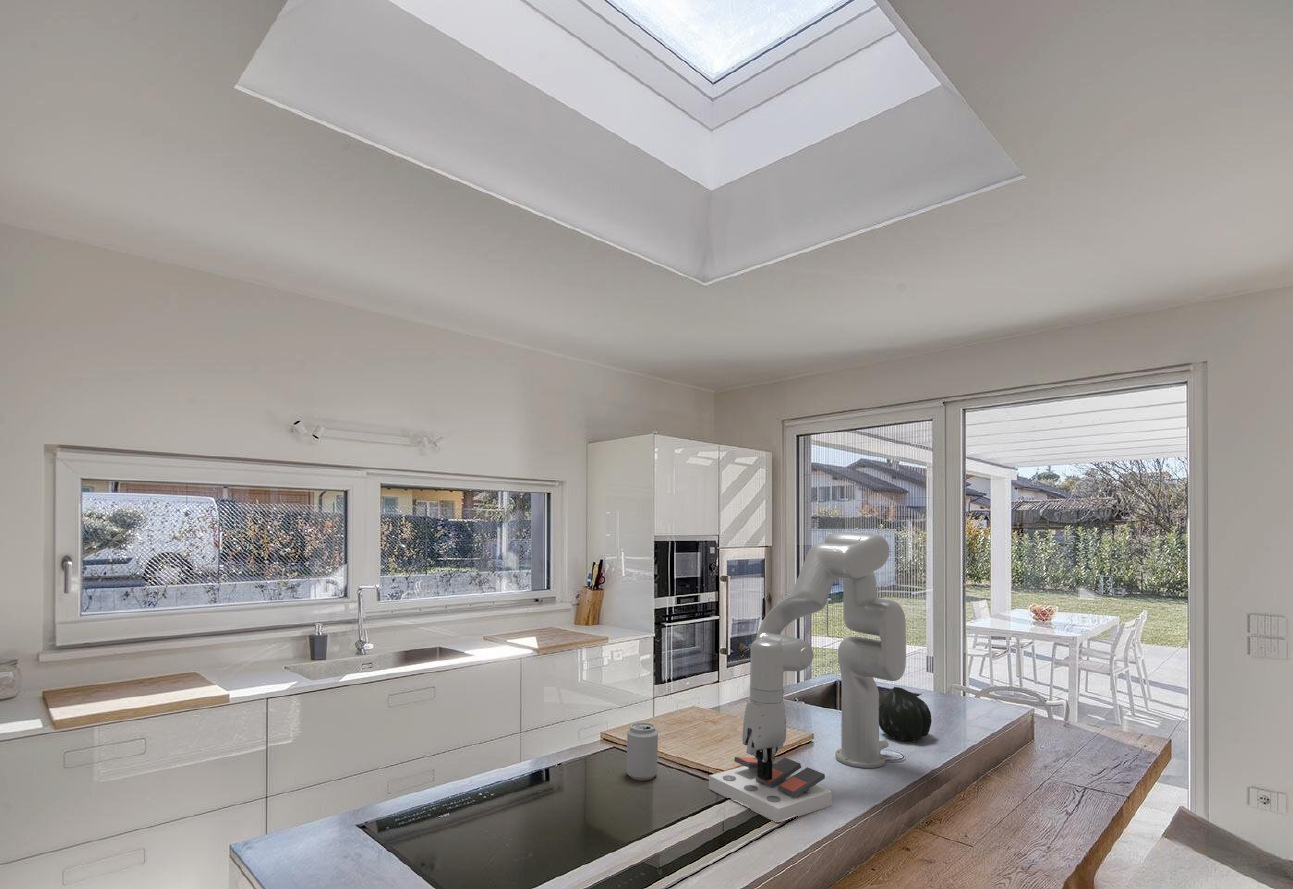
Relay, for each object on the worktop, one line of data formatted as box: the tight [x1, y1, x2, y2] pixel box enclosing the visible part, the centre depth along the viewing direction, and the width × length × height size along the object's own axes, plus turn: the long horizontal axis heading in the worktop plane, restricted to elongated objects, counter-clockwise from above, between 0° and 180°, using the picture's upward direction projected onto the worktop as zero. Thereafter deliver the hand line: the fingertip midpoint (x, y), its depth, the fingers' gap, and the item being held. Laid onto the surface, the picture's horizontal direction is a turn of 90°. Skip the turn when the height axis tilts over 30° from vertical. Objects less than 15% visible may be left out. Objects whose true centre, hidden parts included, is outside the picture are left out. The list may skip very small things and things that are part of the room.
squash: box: [879, 686, 932, 742], centre depth 213 cm, size 14×15×15 cm
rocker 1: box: [733, 756, 776, 768], centre depth 175 cm, size 10×5×1 cm, turn 126°
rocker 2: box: [777, 766, 826, 797], centre depth 164 cm, size 10×5×1 cm, turn 126°
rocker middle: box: [755, 757, 802, 788], centre depth 169 cm, size 10×5×1 cm, turn 126°
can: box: [625, 721, 659, 781], centre depth 178 cm, size 8×8×12 cm
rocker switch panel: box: [708, 765, 833, 822], centre depth 167 cm, size 17×22×4 cm
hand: (764, 777), depth 166 cm, fingers closed
